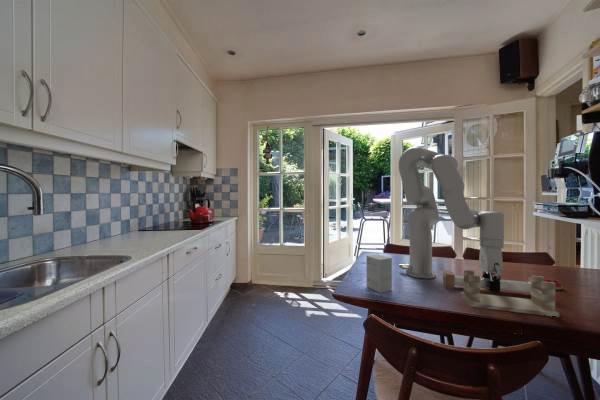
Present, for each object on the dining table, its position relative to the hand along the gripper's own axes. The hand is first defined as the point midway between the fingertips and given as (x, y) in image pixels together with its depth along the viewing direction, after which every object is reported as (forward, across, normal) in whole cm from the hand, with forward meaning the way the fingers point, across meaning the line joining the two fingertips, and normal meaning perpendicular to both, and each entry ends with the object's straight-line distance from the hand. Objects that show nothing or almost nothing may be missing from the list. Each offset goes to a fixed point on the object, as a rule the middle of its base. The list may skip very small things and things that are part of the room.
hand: (490, 287), depth 98 cm
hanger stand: (+1, +13, 0) cm, 13 cm away
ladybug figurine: (+2, -12, +23) cm, 26 cm away
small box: (+1, +11, -42) cm, 43 cm away
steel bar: (+1, 0, 0) cm, 1 cm away
